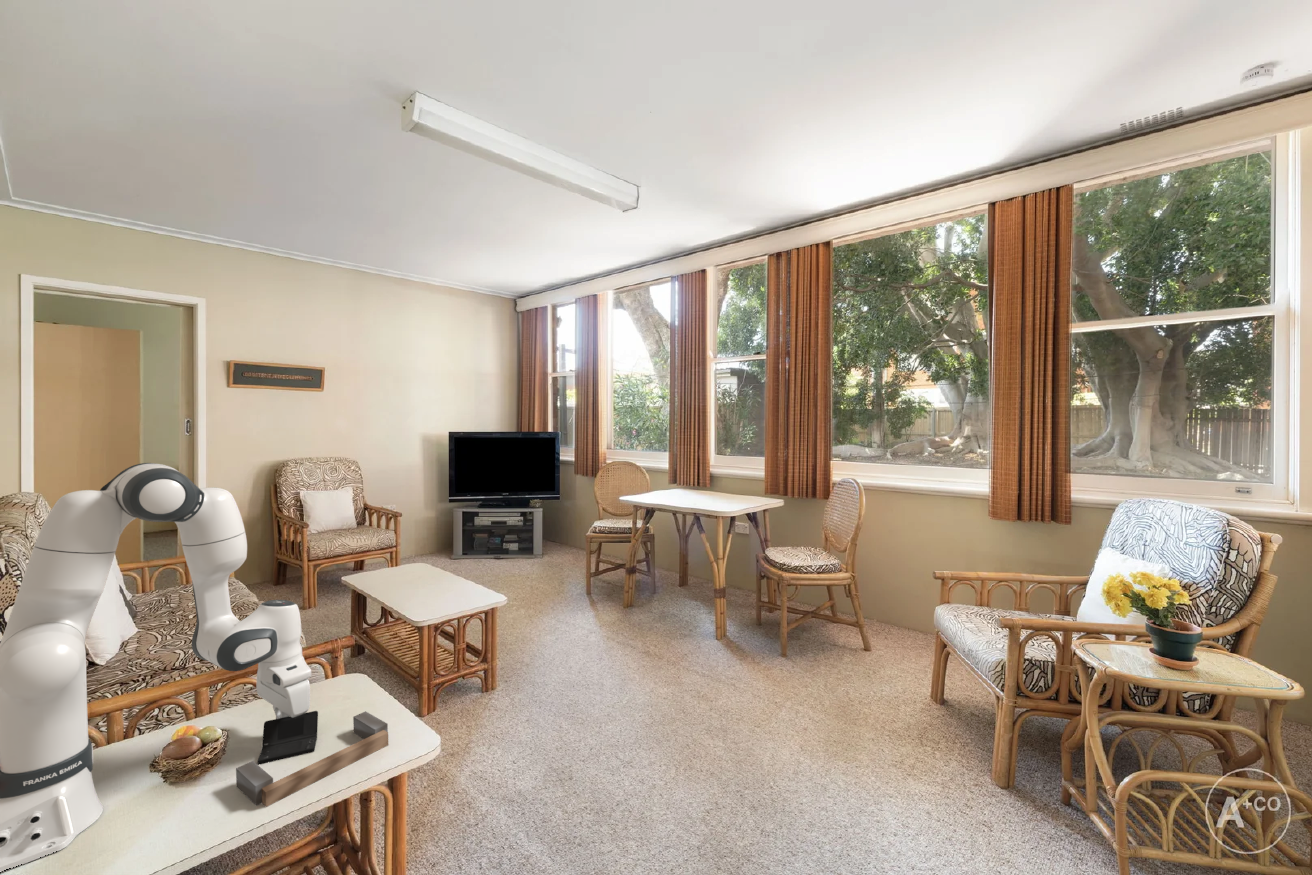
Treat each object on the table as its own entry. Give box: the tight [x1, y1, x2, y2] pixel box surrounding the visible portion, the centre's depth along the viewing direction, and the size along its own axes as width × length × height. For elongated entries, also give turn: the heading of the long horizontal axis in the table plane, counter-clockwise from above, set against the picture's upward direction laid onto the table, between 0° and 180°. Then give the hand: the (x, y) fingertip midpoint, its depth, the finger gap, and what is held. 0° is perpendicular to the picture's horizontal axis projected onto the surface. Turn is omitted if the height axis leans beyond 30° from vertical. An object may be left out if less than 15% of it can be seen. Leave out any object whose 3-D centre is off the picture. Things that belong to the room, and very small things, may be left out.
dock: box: [235, 711, 389, 807], centre depth 122 cm, size 27×12×4 cm, turn 146°
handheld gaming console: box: [257, 710, 319, 766], centre depth 128 cm, size 12×7×10 cm
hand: (282, 722), depth 133 cm, fingers closed
